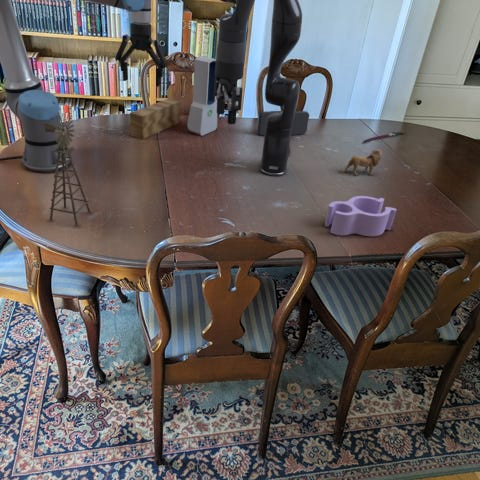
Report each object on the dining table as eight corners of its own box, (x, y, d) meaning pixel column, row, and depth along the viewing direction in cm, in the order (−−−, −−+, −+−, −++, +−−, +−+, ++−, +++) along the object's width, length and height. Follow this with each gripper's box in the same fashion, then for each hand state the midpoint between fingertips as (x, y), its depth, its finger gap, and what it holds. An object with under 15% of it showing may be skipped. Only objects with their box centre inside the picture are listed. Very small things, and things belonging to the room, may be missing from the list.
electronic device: (200, 136, 194) (204, 61, 178) (186, 132, 197) (188, 57, 181) (217, 129, 203) (222, 57, 187) (203, 125, 206) (207, 53, 190)
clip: (337, 240, 135) (342, 219, 131) (318, 218, 145) (322, 198, 141) (395, 233, 141) (402, 213, 137) (373, 213, 151) (378, 194, 147)
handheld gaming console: (303, 132, 210) (307, 110, 205) (306, 134, 208) (310, 112, 203) (256, 133, 203) (259, 111, 198) (258, 135, 201) (261, 113, 196)
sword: (401, 131, 224) (402, 128, 223) (406, 133, 222) (407, 131, 221) (358, 142, 208) (358, 140, 207) (363, 145, 206) (363, 142, 205)
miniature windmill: (76, 226, 128) (64, 120, 112) (48, 221, 129) (32, 115, 113) (91, 211, 136) (82, 109, 120) (65, 206, 137) (52, 104, 121)
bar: (142, 139, 186) (142, 116, 181) (130, 135, 188) (129, 112, 183) (179, 122, 207) (180, 101, 201) (168, 119, 209) (168, 98, 203)
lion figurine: (372, 168, 182) (378, 147, 177) (380, 174, 178) (386, 152, 173) (340, 171, 177) (345, 148, 172) (347, 177, 173) (352, 154, 168)
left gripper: (177, 26, 169) (175, 85, 181) (113, 17, 173) (116, 75, 184) (169, 29, 163) (168, 90, 174) (103, 19, 167) (107, 80, 178)
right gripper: (254, 65, 119) (247, 126, 128) (233, 52, 129) (228, 110, 138) (227, 65, 116) (222, 128, 125) (207, 52, 127) (204, 111, 135)
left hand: (141, 83), depth 179 cm, fingers open, 13 cm apart
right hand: (225, 118), depth 131 cm, fingers open, 8 cm apart
